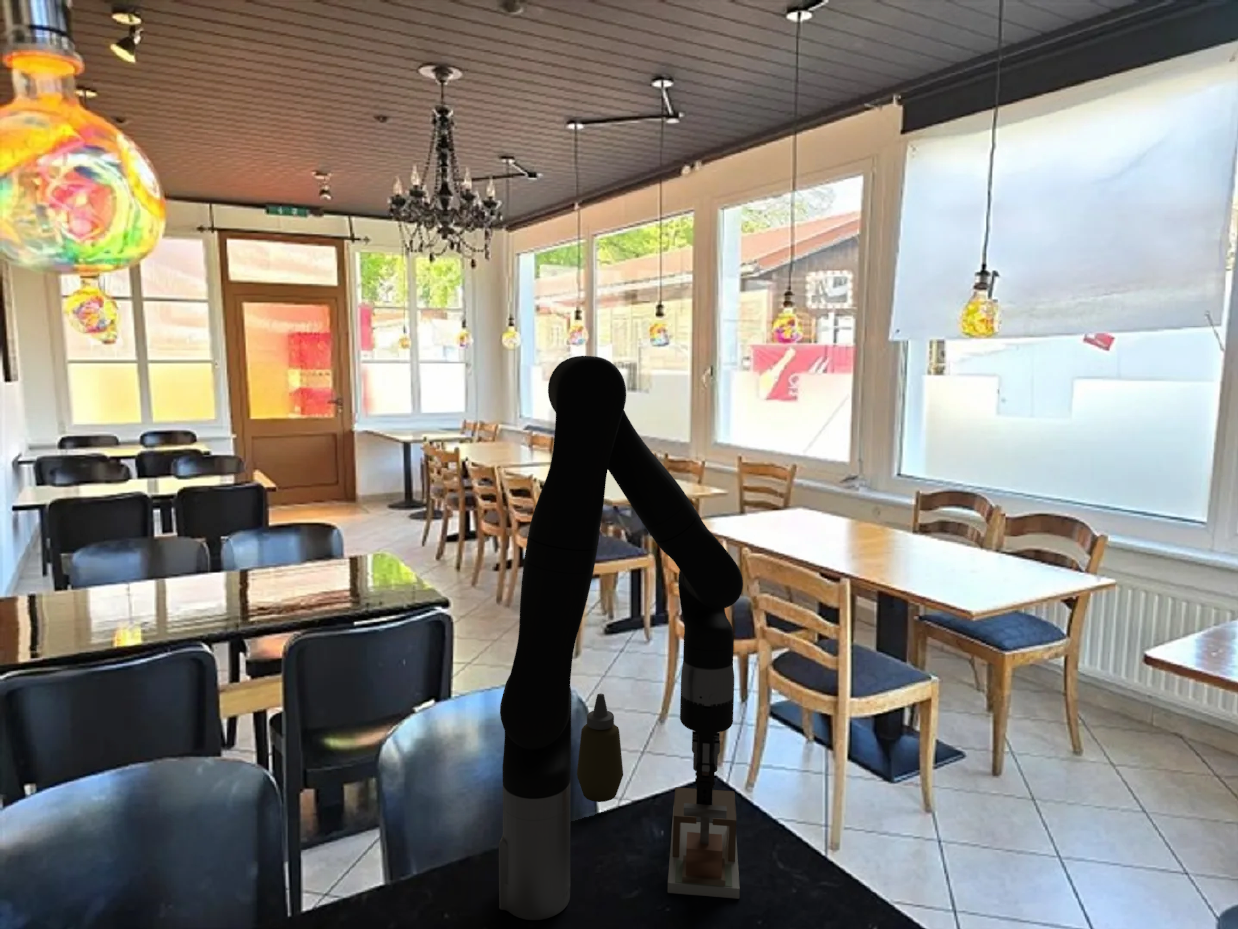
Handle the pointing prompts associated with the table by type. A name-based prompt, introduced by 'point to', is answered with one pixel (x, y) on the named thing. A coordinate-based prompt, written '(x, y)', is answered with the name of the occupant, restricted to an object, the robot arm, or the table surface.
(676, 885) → the tunnel
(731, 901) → the table surface
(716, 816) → the sled
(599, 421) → the robot arm
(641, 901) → the table surface
